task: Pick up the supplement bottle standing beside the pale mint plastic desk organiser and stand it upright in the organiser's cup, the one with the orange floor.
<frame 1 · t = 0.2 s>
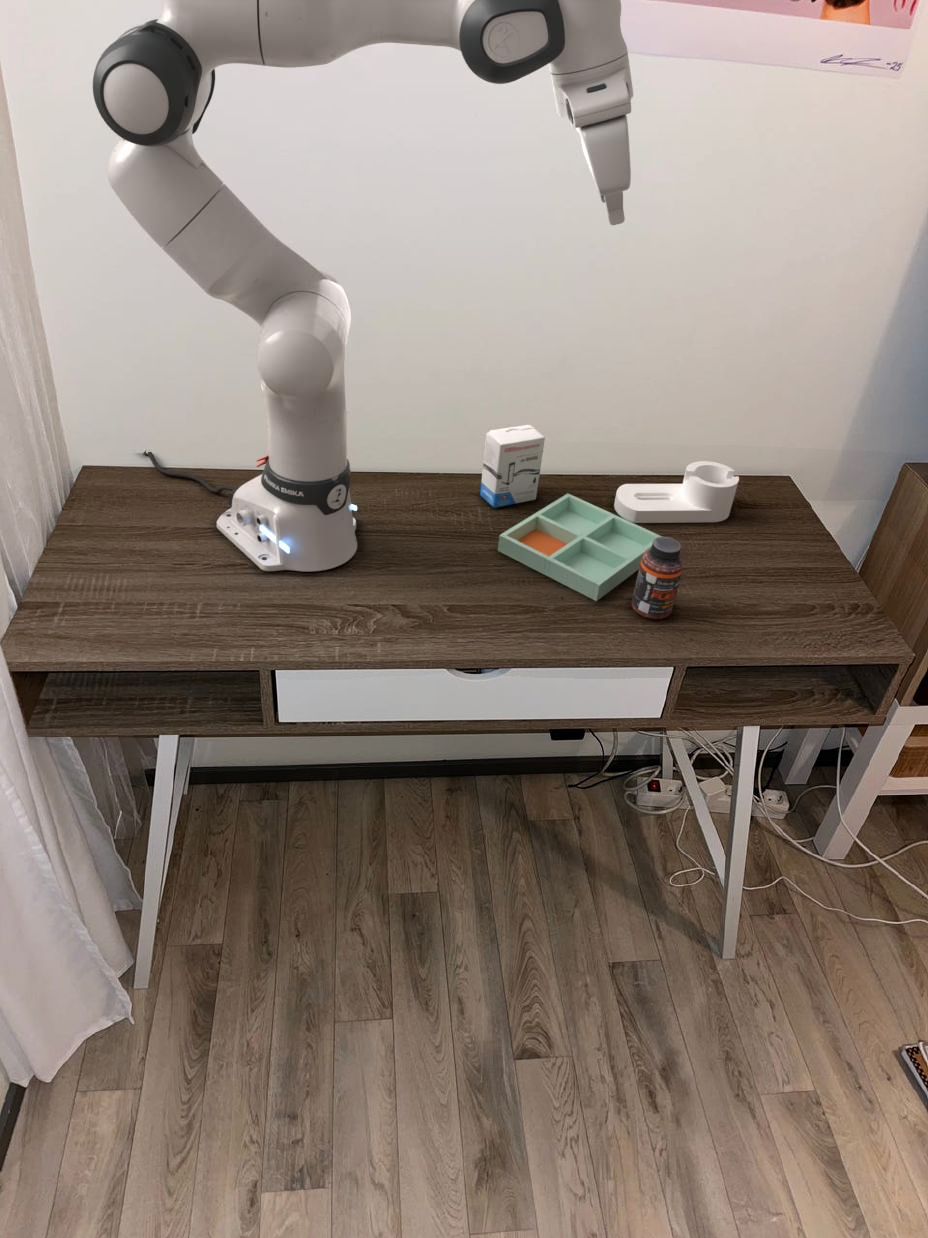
hand: (612, 210, 124), 52 cm above the table, tool tilted 20°, fingers open, 8 cm apart
supplement bottle: (650, 610, 147), on the table
ink box: (508, 498, 169), on the table
organiser: (579, 551, 157), on the table
bracket: (671, 509, 170), on the table
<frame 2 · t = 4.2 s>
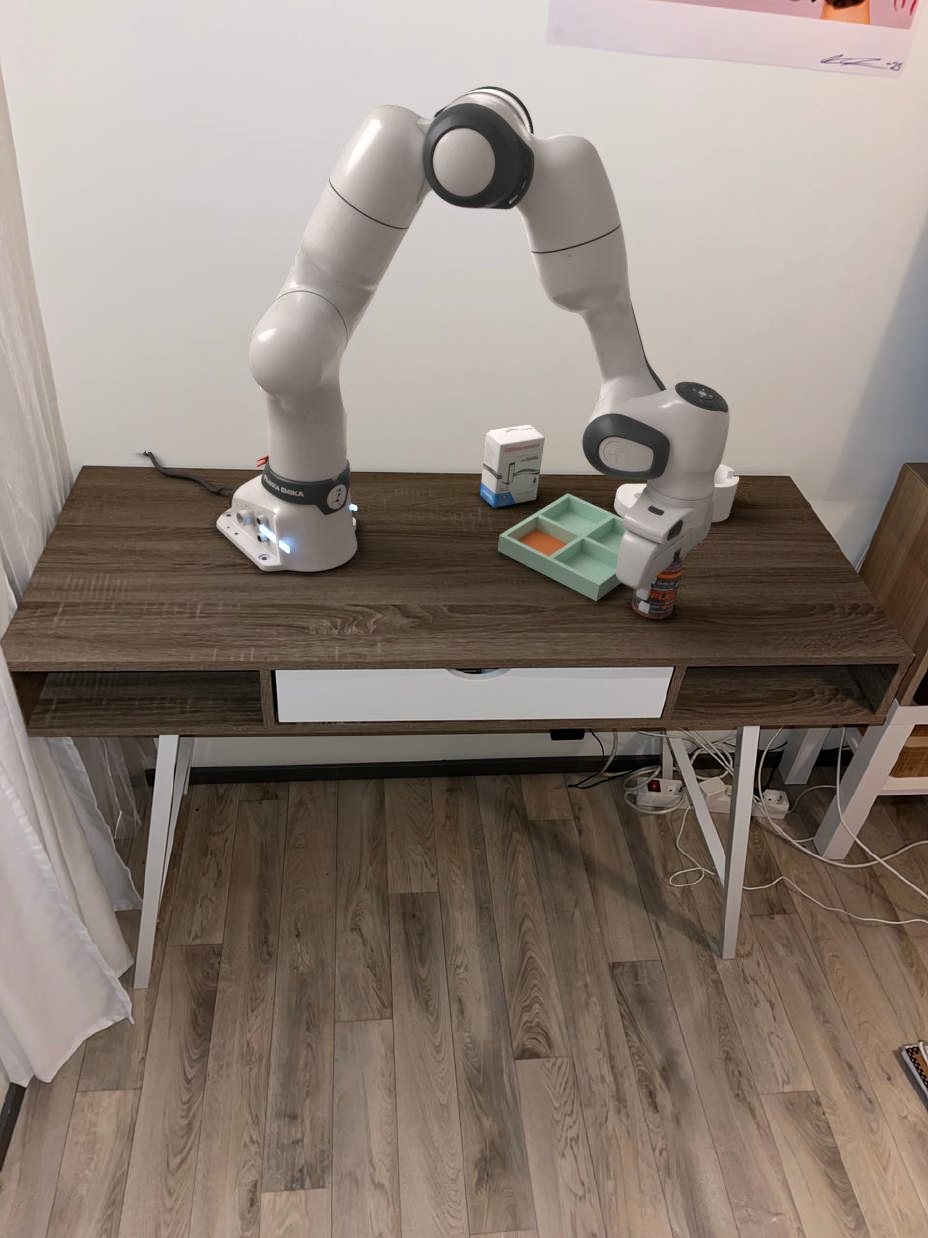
hand: (656, 585, 144), 4 cm above the table, tool pointing down, fingers closed on supplement bottle, 6 cm apart
supplement bottle: (651, 610, 147), on the table, touching gripper
everything else where it was.
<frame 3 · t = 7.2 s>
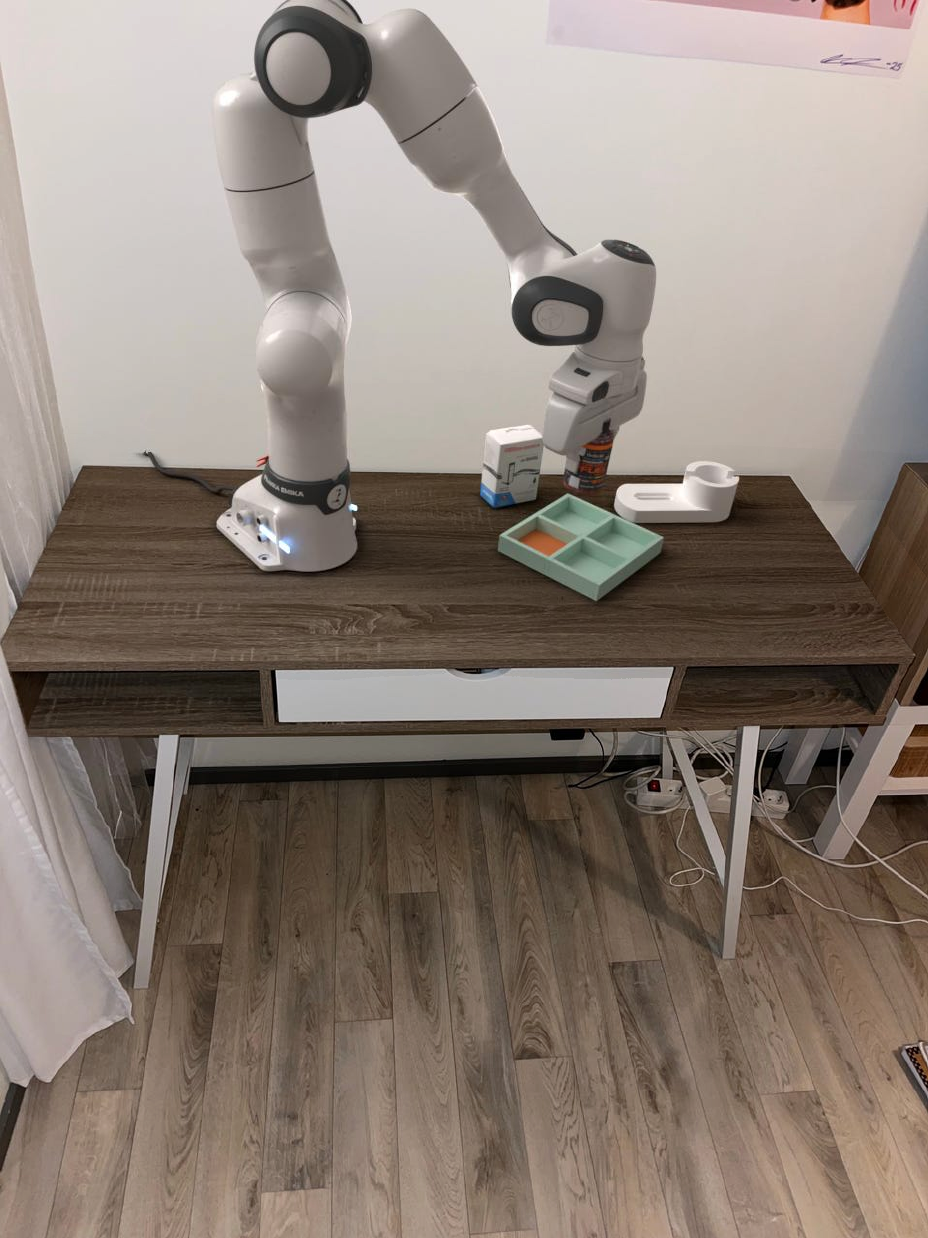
hand: (587, 461, 142), 18 cm above the table, tool pointing down, fingers closed on supplement bottle, 6 cm apart
supplement bottle: (582, 487, 145), point 14 cm above the table, touching gripper
everything else where it was.
when the fingers open (5 cm above the table, at t = 10.7 s): supplement bottle stays where it is, resting on organiser.
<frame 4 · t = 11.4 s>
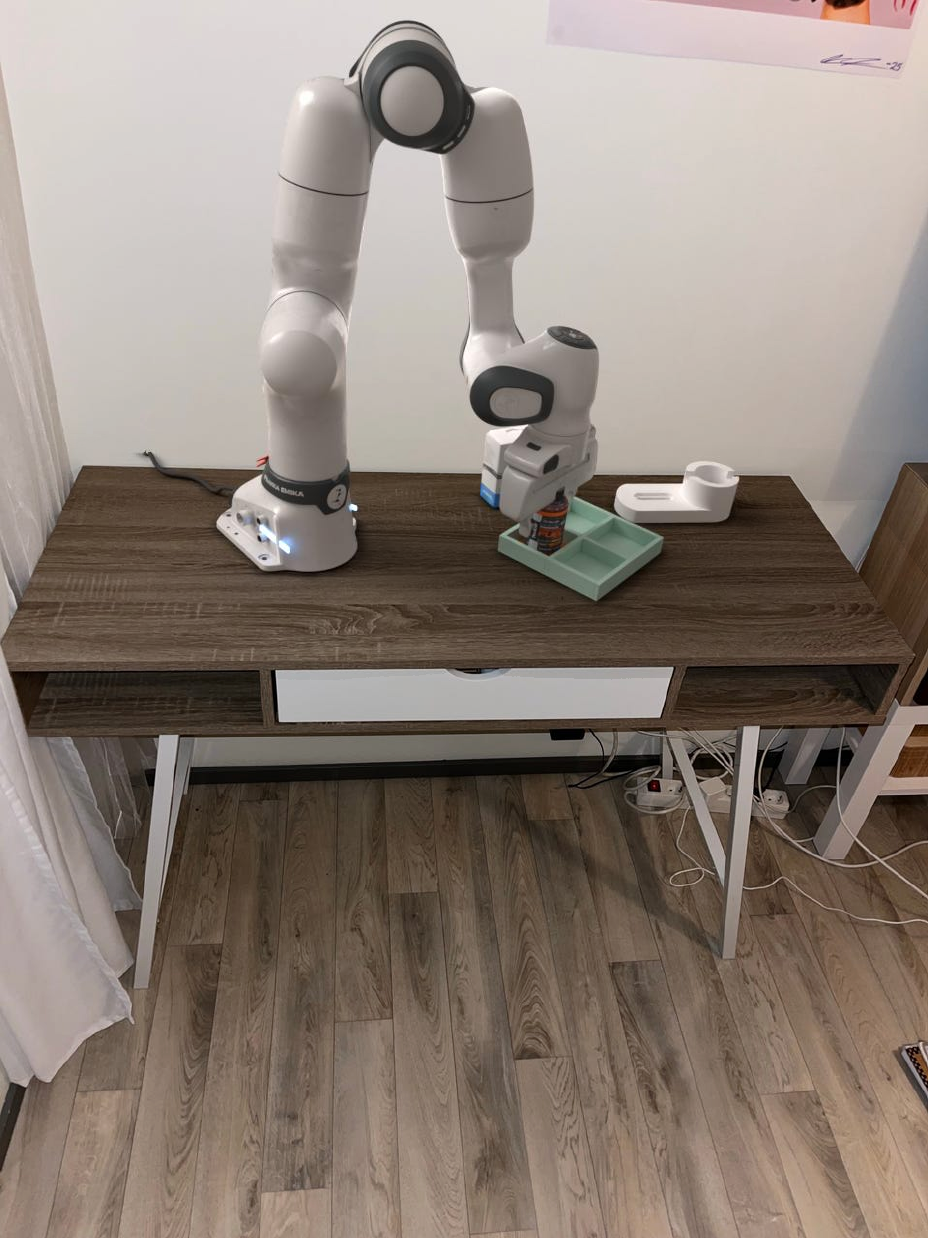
hand: (544, 522, 153), 5 cm above the table, tool pointing down, fingers open, 8 cm apart
supplement bottle: (541, 549, 156), resting on organiser
everything else where it was.
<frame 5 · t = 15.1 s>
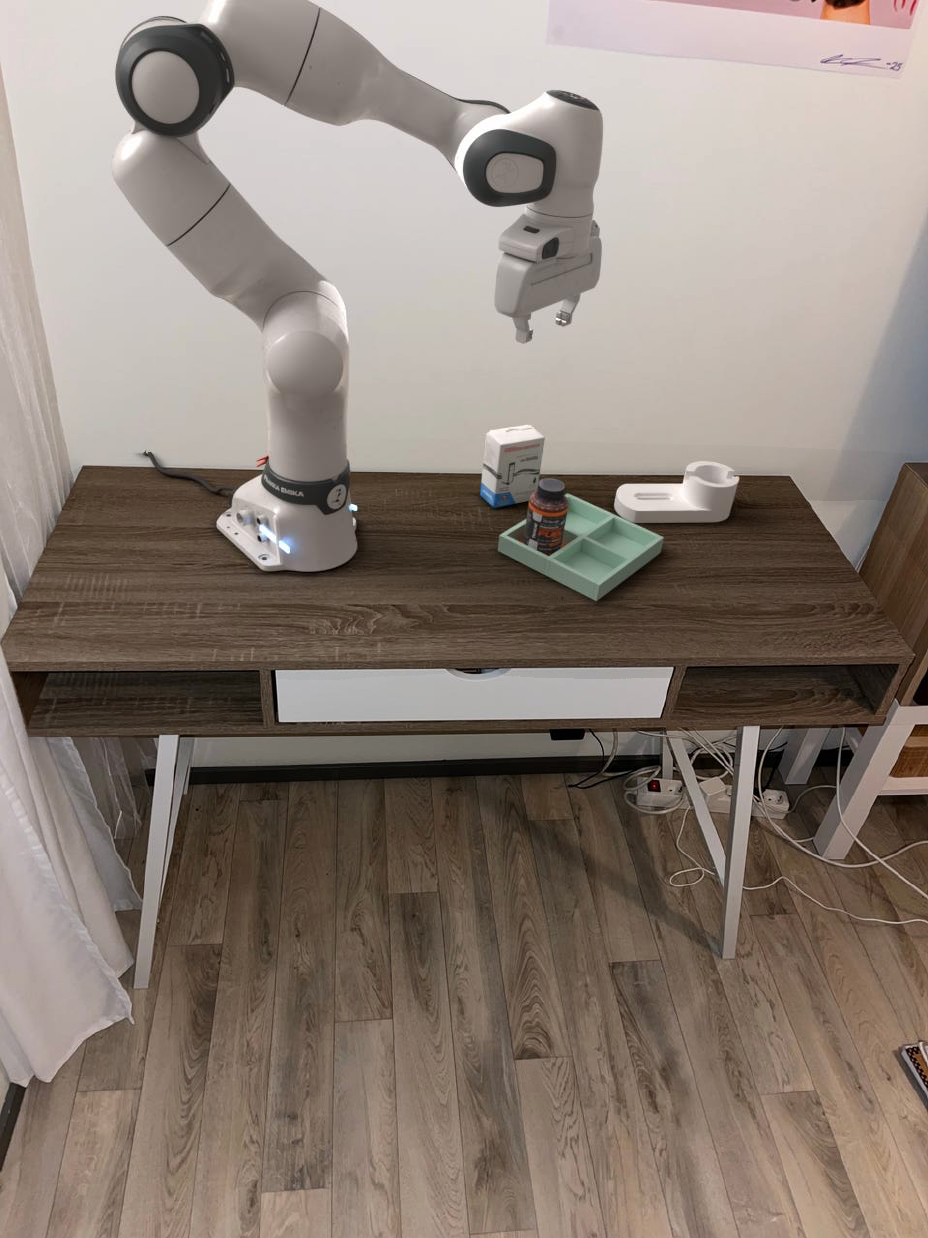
hand: (543, 332, 140), 33 cm above the table, tool pointing down, fingers open, 8 cm apart
nothing on the table moved.
at the end: supplement bottle 0.1 cm from the target spot in the organiser, point 0.4 cm above the organiser's base; supplement bottle tilted 0° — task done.
